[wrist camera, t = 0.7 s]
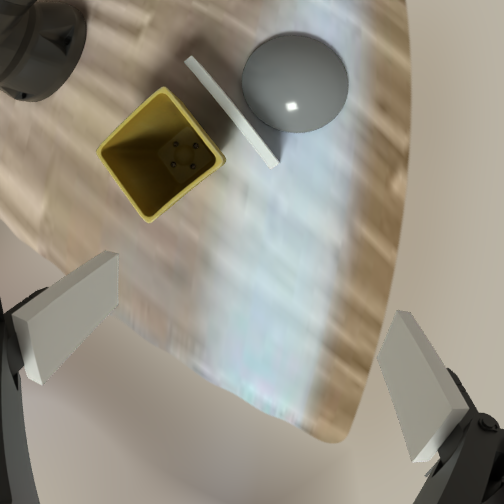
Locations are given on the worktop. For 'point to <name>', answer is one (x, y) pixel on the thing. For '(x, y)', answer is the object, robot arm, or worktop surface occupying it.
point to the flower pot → (159, 154)
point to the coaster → (295, 84)
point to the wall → (232, 112)
